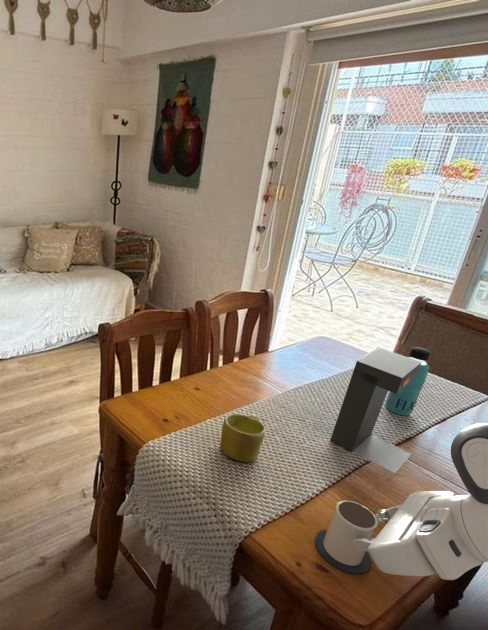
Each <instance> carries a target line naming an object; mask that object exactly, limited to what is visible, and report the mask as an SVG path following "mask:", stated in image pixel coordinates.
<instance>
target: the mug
mask: <svg viewBox="0 0 488 630" xmlns="http://www.w3.org/2000/svg"><path fill="white" fill-rule="evenodd" d="M221 427H222V428H221V433H220V435H221V436H220V448H221V451H222V453H224V455H226V456H227V457H228V458H230V459H232V460H235V461H238V462H242V463H243V462H244V463H253V462H254V461H256V460H257V459H258V457H259V455H260V451H261V447H262V444H263V441H264V439H265V436H266V427H265V425H264V424H263V422H261V421H260V417H259V416H258V414H257V415H256V414H254V413H252V414H250V415H246V414H245V415H244V414H240V413H232V414H228V415H225V417H224V419H223V423H222V426H221Z"/></svg>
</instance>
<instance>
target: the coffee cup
mask: <svg viewBox="0 0 488 630" xmlns="http://www.w3.org/2000/svg"><path fill="white" fill-rule="evenodd" d="M331 515H332V516H331V518H330V521H329V523H328V526H327V529H326V530H327V532H326V534H325V537H324V540H323V545H324V548H325V549H326V551H327V552H328V553H329V555H330V556H332V557H333V558H334V559H335V560H337V561H339V562H341V563H343V564H346V565H351V566H355V565H358V564H360V563H361V562H362V560H363V558H364V555H365V553H366V551H359V550H357V549H356V547H355V546H354V544H353V540H354V539H355V538H356V537H357V536H366V538H367V540H370V541H371V540H372V539H373V538H374V535H375V533H376V531H377V528H378V526H379V523H378V522H379V521H378V518H377V517H376V515H375V513H373V511H371V510H370V509H369V508H368V507H366V506H364V505H363V504H361V503H359V502H356V501H353V500H340V501H338V502H337V503H336V506H335V508H334V510H333V513H332V514H331Z"/></svg>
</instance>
